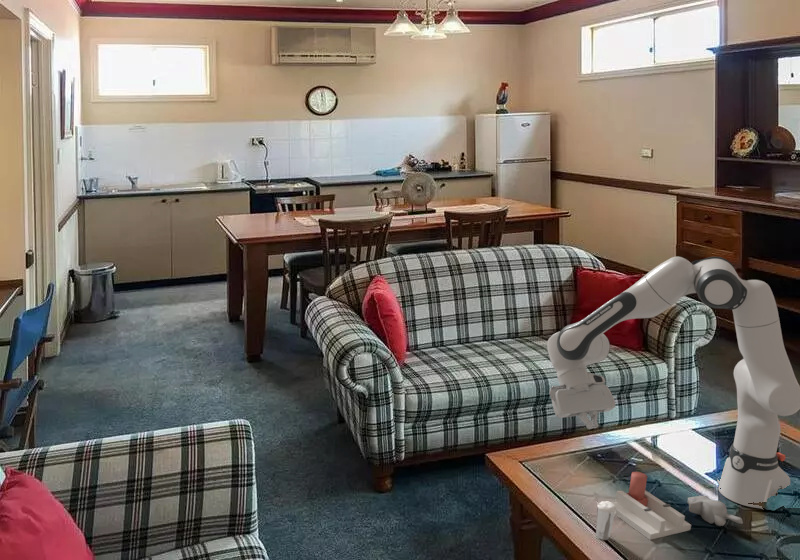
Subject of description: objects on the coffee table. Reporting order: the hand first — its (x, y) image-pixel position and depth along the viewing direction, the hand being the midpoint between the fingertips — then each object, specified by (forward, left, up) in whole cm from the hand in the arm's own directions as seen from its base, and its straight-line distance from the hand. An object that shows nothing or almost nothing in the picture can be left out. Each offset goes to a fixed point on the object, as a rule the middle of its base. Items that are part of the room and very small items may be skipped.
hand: (593, 427), depth 214 cm
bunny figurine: (-17, +30, -15) cm, 38 cm away
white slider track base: (0, +25, -15) cm, 29 cm away
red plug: (0, +20, -13) cm, 24 cm away
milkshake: (+18, +27, -15) cm, 36 cm away
